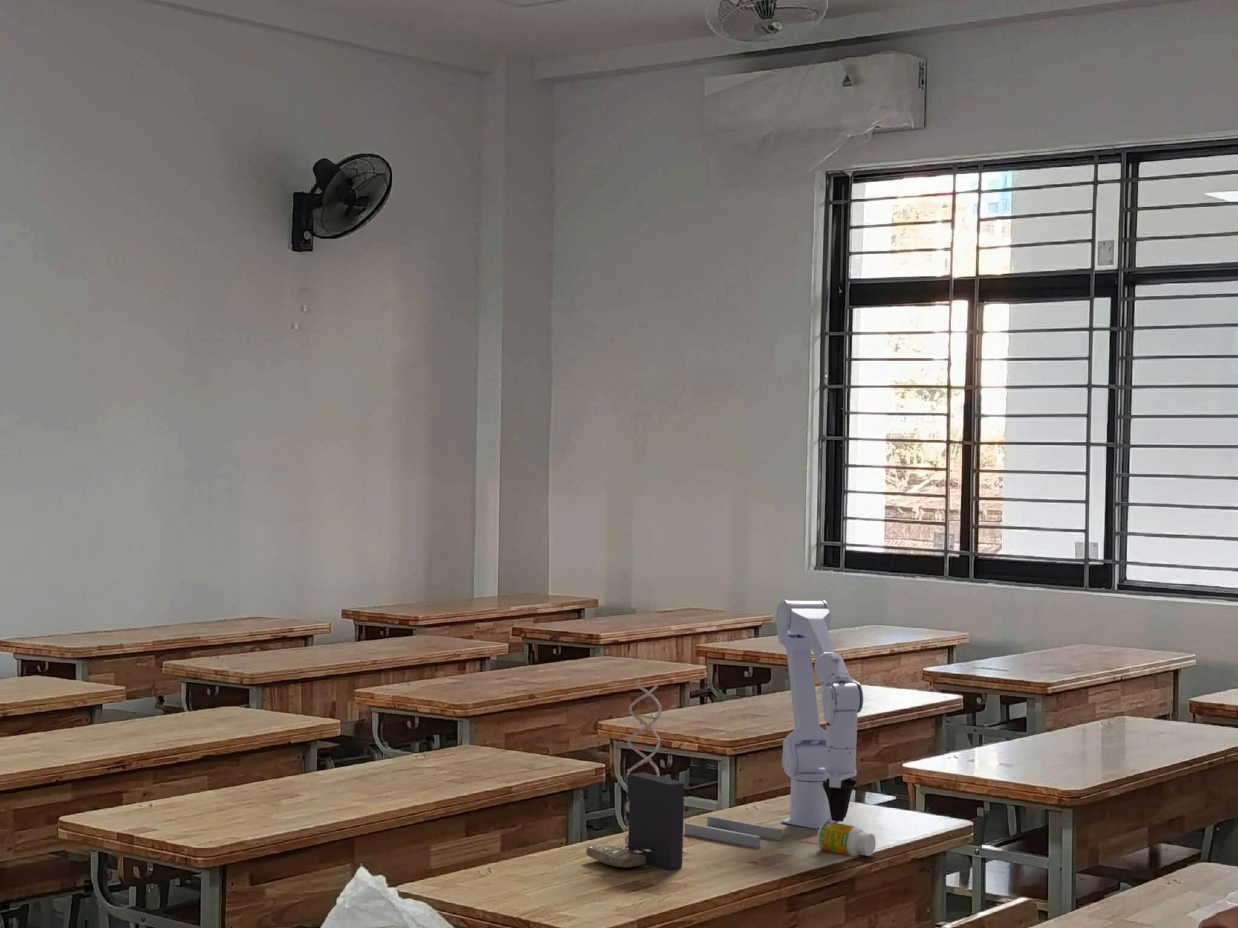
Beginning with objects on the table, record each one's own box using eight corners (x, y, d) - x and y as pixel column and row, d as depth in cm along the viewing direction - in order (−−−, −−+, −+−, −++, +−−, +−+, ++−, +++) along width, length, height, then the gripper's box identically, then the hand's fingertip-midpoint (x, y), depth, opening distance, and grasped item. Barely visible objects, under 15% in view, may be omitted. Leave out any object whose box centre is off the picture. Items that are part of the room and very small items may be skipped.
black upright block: (685, 867, 270) (687, 781, 270) (667, 871, 267) (670, 784, 267) (642, 854, 278) (645, 771, 278) (624, 858, 276) (627, 773, 275)
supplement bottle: (815, 824, 283) (862, 833, 277) (831, 817, 287) (877, 826, 281) (816, 853, 284) (863, 863, 278) (831, 845, 288) (878, 855, 282)
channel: (710, 825, 302) (710, 815, 302) (781, 839, 293) (782, 828, 293) (684, 833, 295) (684, 823, 295) (757, 848, 286) (757, 837, 286)
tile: (827, 832, 299) (827, 830, 299) (874, 841, 293) (874, 839, 293) (801, 842, 291) (801, 840, 291) (849, 851, 285) (849, 849, 285)
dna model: (665, 848, 283) (670, 683, 283) (642, 854, 279) (647, 687, 279) (638, 841, 288) (643, 679, 288) (615, 847, 283) (620, 682, 283)
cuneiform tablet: (631, 852, 264) (586, 838, 273) (630, 875, 264) (584, 859, 273) (656, 849, 268) (610, 834, 277) (655, 871, 268) (609, 856, 277)
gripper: (825, 738, 300) (823, 808, 300) (813, 751, 286) (811, 824, 286) (862, 741, 298) (859, 811, 298) (852, 754, 284) (850, 828, 284)
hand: (838, 818), depth 292 cm, fingers open, 3 cm apart
